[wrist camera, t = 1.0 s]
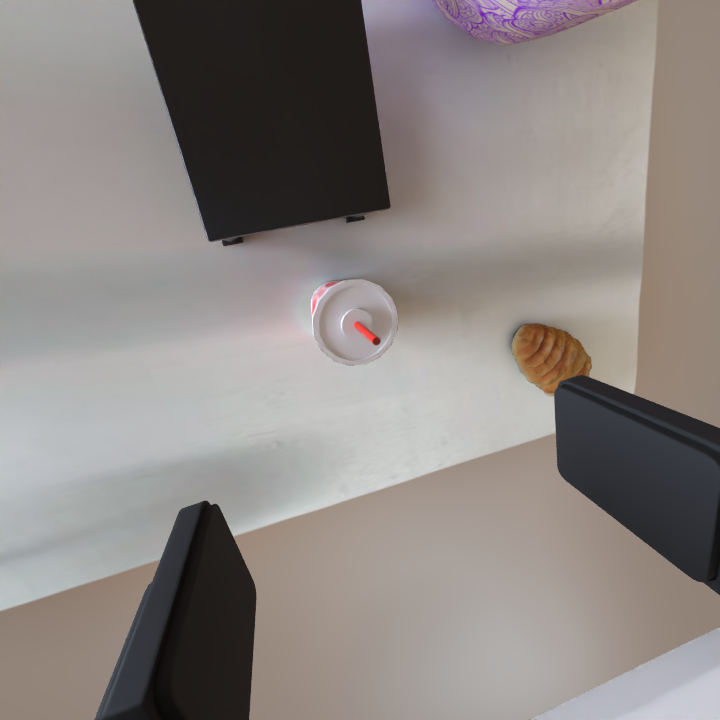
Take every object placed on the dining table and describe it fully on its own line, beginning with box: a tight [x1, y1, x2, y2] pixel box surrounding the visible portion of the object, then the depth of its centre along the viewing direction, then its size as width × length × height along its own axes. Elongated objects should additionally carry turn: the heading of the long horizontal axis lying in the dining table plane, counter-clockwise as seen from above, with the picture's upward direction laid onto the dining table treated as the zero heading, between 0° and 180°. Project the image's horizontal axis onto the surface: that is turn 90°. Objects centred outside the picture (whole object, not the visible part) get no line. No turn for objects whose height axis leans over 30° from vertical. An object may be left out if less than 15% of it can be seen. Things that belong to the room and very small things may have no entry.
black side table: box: [133, 0, 390, 246], centre depth 24 cm, size 14×12×8 cm
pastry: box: [511, 324, 592, 396], centre depth 38 cm, size 9×7×4 cm
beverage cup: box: [311, 279, 398, 366], centre depth 26 cm, size 6×6×14 cm
